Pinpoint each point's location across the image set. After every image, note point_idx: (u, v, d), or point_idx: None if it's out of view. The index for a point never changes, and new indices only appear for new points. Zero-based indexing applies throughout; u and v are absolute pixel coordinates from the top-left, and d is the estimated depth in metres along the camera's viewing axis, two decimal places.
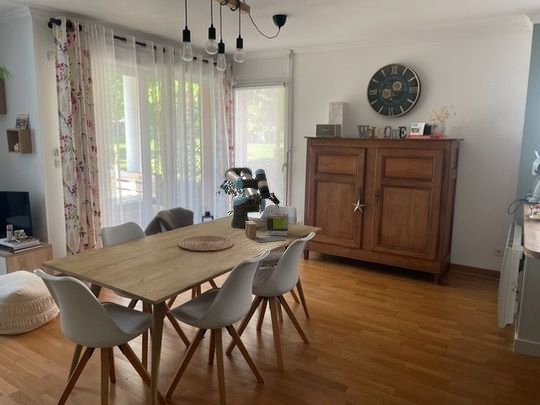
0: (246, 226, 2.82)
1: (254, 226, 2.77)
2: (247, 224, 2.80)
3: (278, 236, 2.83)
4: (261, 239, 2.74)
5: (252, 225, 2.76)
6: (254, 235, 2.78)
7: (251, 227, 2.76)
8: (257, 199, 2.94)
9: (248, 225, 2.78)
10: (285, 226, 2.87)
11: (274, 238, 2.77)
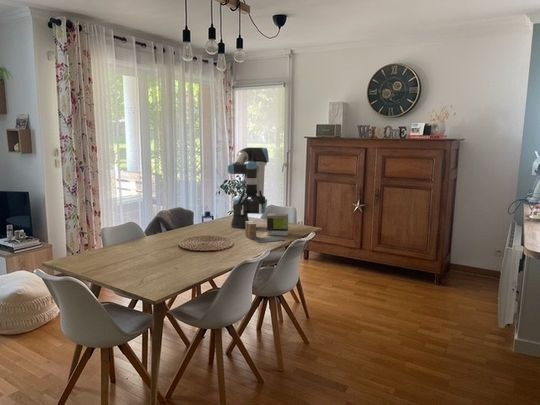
0: (246, 226, 2.82)
1: (254, 226, 2.77)
2: (247, 224, 2.80)
3: (278, 236, 2.83)
4: (261, 239, 2.74)
5: (252, 225, 2.76)
6: (254, 235, 2.78)
7: (251, 227, 2.76)
8: (241, 199, 2.74)
9: (248, 225, 2.78)
10: (285, 226, 2.87)
11: (274, 238, 2.77)
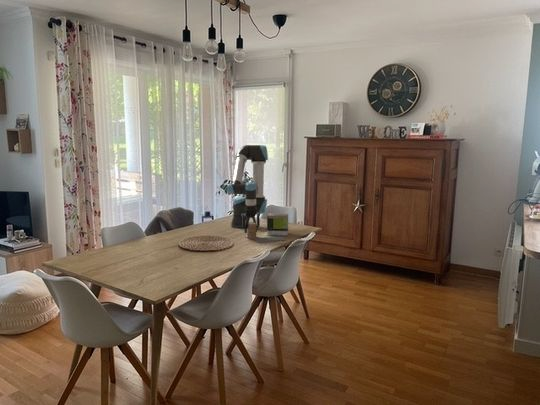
0: None
1: (254, 226, 2.77)
2: None
3: (278, 236, 2.83)
4: (261, 239, 2.74)
5: (252, 225, 2.76)
6: (254, 235, 2.78)
7: (251, 227, 2.76)
8: (244, 222, 2.77)
9: (248, 225, 2.78)
10: (285, 226, 2.87)
11: (274, 238, 2.77)
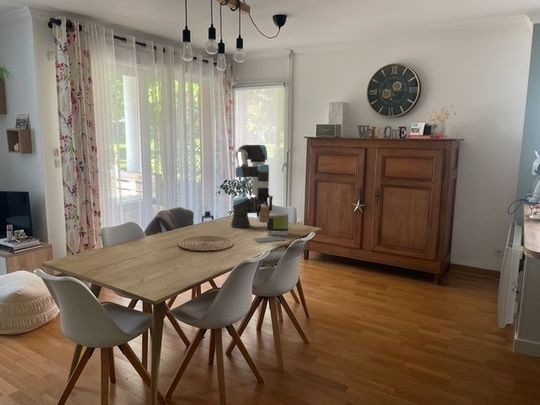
0: None
1: (267, 209, 2.67)
2: None
3: (278, 236, 2.83)
4: (261, 239, 2.74)
5: (265, 208, 2.66)
6: (267, 219, 2.68)
7: (263, 210, 2.66)
8: (256, 205, 2.67)
9: (260, 208, 2.67)
10: (285, 226, 2.87)
11: (274, 238, 2.77)
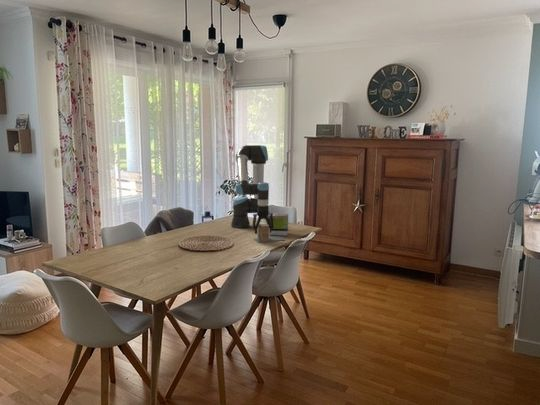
0: (258, 228, 2.74)
1: (266, 228, 2.69)
2: (259, 226, 2.71)
3: (278, 236, 2.83)
4: None
5: (264, 227, 2.68)
6: (266, 237, 2.70)
7: (263, 229, 2.68)
8: (255, 222, 2.68)
9: (260, 227, 2.69)
10: (285, 226, 2.87)
11: (274, 238, 2.77)
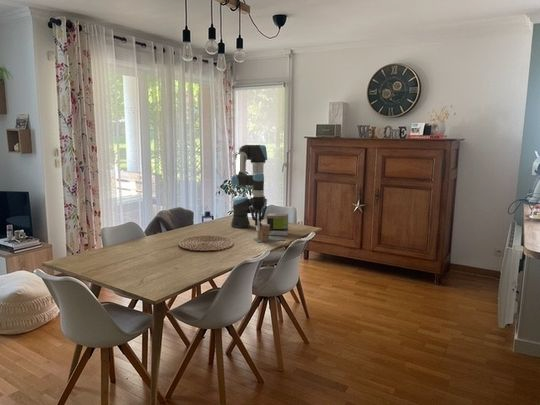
0: None
1: (267, 228, 2.69)
2: (260, 225, 2.72)
3: (278, 236, 2.83)
4: None
5: (265, 227, 2.68)
6: (267, 237, 2.70)
7: (264, 228, 2.68)
8: (253, 214, 2.67)
9: (261, 226, 2.70)
10: (285, 226, 2.87)
11: (274, 238, 2.77)
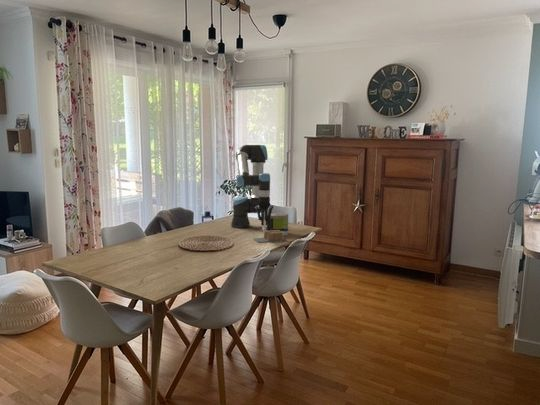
0: (275, 230, 2.79)
1: (280, 237, 2.74)
2: (279, 231, 2.77)
3: None
4: (261, 239, 2.74)
5: (281, 235, 2.74)
6: (271, 238, 2.71)
7: (279, 234, 2.73)
8: None
9: (279, 232, 2.75)
10: (285, 226, 2.87)
11: None
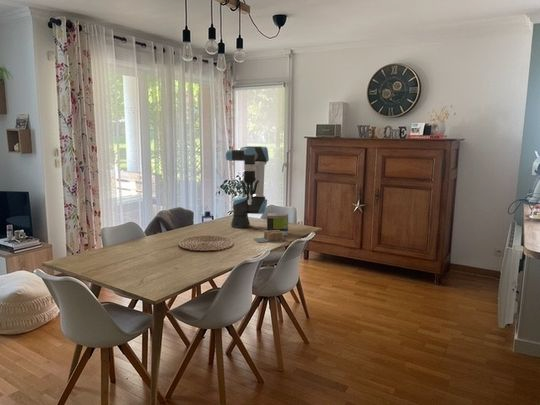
0: (275, 230, 2.79)
1: (280, 237, 2.74)
2: (279, 231, 2.77)
3: None
4: (261, 239, 2.74)
5: (281, 235, 2.74)
6: (271, 238, 2.71)
7: (279, 234, 2.73)
8: (245, 188, 2.70)
9: (279, 232, 2.75)
10: (285, 226, 2.87)
11: None
